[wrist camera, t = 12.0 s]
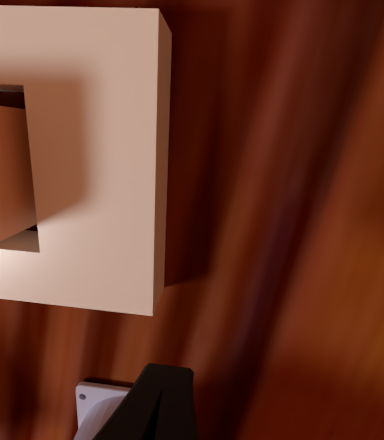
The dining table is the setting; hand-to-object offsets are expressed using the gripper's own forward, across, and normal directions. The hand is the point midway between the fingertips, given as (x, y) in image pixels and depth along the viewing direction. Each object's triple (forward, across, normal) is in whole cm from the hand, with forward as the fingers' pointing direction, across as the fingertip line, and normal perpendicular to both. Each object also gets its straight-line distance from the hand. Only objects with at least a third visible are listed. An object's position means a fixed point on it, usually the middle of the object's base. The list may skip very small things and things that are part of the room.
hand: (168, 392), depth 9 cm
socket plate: (+9, +11, -5) cm, 15 cm away
